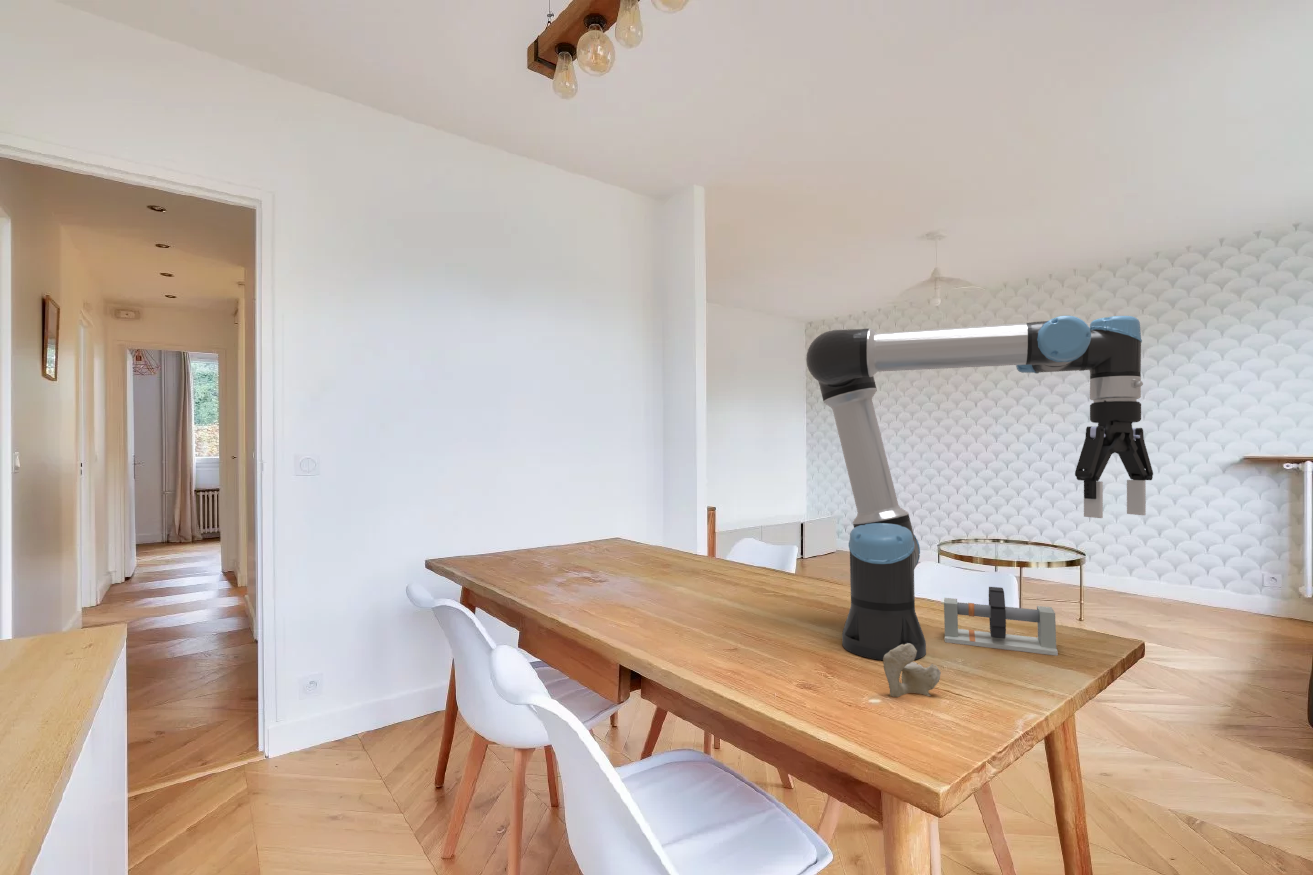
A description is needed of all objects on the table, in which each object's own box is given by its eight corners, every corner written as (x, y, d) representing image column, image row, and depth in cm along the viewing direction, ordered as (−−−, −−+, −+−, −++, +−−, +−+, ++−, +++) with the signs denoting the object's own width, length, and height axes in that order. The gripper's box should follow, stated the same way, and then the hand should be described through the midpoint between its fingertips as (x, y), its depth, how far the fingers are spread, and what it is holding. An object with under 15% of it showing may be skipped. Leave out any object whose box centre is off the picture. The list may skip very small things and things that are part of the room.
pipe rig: (944, 642, 118) (943, 604, 118) (945, 631, 125) (944, 595, 125) (1057, 655, 109) (1056, 615, 109) (1051, 643, 116) (1050, 605, 116)
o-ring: (991, 641, 113) (990, 593, 114) (989, 628, 122) (988, 583, 122) (1006, 643, 112) (1005, 594, 113) (1002, 629, 121) (1001, 584, 121)
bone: (929, 671, 98) (935, 629, 93) (943, 706, 92) (951, 662, 87) (876, 674, 99) (879, 631, 94) (887, 708, 93) (891, 665, 88)
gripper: (1097, 396, 101) (1097, 521, 100) (1176, 402, 111) (1176, 515, 111) (1052, 399, 108) (1051, 516, 107) (1130, 405, 118) (1130, 511, 118)
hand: (1115, 516), depth 109 cm, fingers open, 13 cm apart
